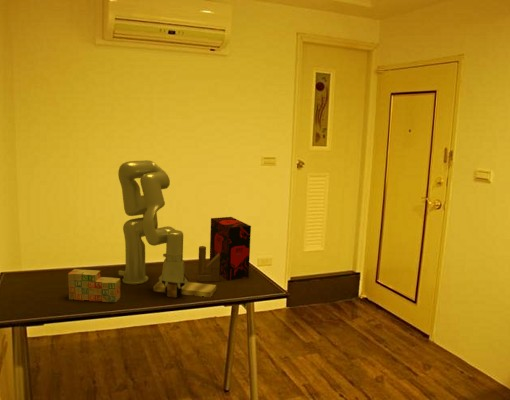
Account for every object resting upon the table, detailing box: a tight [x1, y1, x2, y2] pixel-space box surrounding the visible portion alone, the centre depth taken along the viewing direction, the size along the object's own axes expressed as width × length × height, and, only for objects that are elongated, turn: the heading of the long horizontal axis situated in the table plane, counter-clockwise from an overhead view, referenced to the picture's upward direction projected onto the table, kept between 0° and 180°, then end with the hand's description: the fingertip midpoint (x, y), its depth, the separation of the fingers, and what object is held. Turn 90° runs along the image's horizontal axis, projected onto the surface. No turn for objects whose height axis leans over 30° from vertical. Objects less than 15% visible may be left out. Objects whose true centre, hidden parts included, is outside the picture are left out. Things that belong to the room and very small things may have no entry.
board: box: [153, 280, 217, 298], centre depth 213 cm, size 28×10×2 cm, turn 81°
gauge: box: [166, 282, 178, 298], centre depth 211 cm, size 4×14×6 cm, turn 171°
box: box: [209, 216, 252, 281], centre depth 240 cm, size 23×12×28 cm, turn 29°
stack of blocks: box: [67, 268, 121, 303], centre depth 198 cm, size 21×6×12 cm, turn 85°
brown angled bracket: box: [197, 245, 220, 283], centre depth 226 cm, size 4×11×18 cm, turn 103°
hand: (173, 294), depth 207 cm, fingers closed on gauge, 4 cm apart
